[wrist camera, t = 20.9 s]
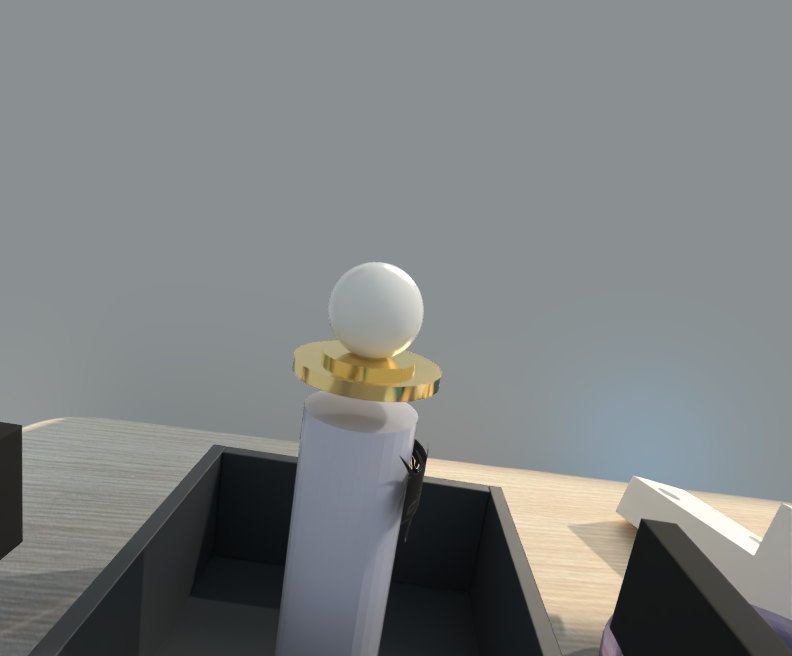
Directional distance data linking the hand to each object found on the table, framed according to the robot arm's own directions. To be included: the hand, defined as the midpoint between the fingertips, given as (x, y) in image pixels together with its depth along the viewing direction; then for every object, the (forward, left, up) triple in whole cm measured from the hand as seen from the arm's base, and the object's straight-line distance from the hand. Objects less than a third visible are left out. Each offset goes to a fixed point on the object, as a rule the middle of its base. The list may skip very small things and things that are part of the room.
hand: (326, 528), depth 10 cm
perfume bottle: (0, +9, -15) cm, 18 cm away
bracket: (+29, +25, -16) cm, 42 cm away
